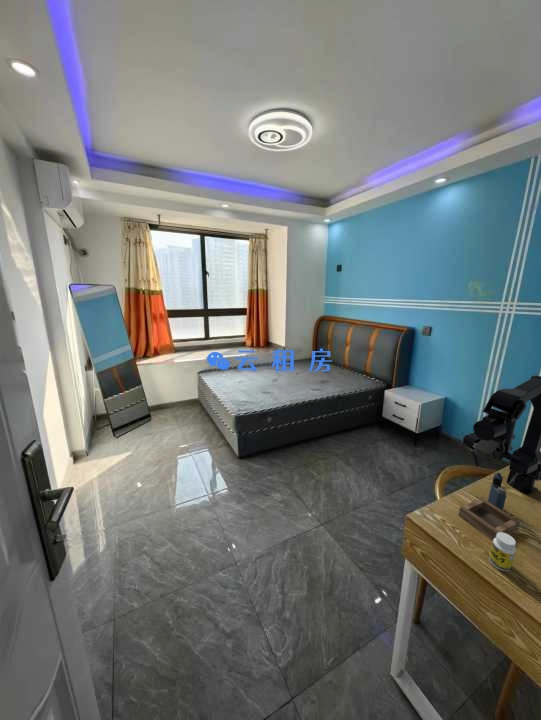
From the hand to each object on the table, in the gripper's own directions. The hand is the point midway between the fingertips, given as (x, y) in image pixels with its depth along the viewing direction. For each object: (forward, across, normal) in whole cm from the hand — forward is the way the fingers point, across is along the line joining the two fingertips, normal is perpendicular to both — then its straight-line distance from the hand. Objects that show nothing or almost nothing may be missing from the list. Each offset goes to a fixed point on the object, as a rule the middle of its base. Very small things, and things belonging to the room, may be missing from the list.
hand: (492, 474), depth 93 cm
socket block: (+13, +4, -6) cm, 15 cm away
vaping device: (+13, +1, +3) cm, 14 cm away
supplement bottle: (+13, +14, -17) cm, 26 cm away
